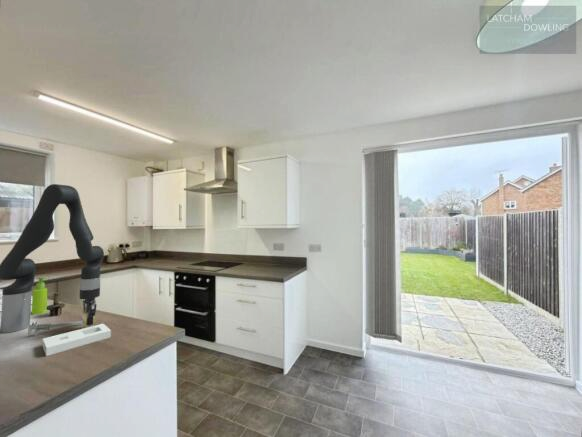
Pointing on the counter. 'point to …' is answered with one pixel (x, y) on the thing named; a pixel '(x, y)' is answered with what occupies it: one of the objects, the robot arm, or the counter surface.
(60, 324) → the caliper
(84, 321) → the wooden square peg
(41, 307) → the soap dispenser
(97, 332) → the white peg hole board
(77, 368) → the counter surface
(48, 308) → the industrial component
